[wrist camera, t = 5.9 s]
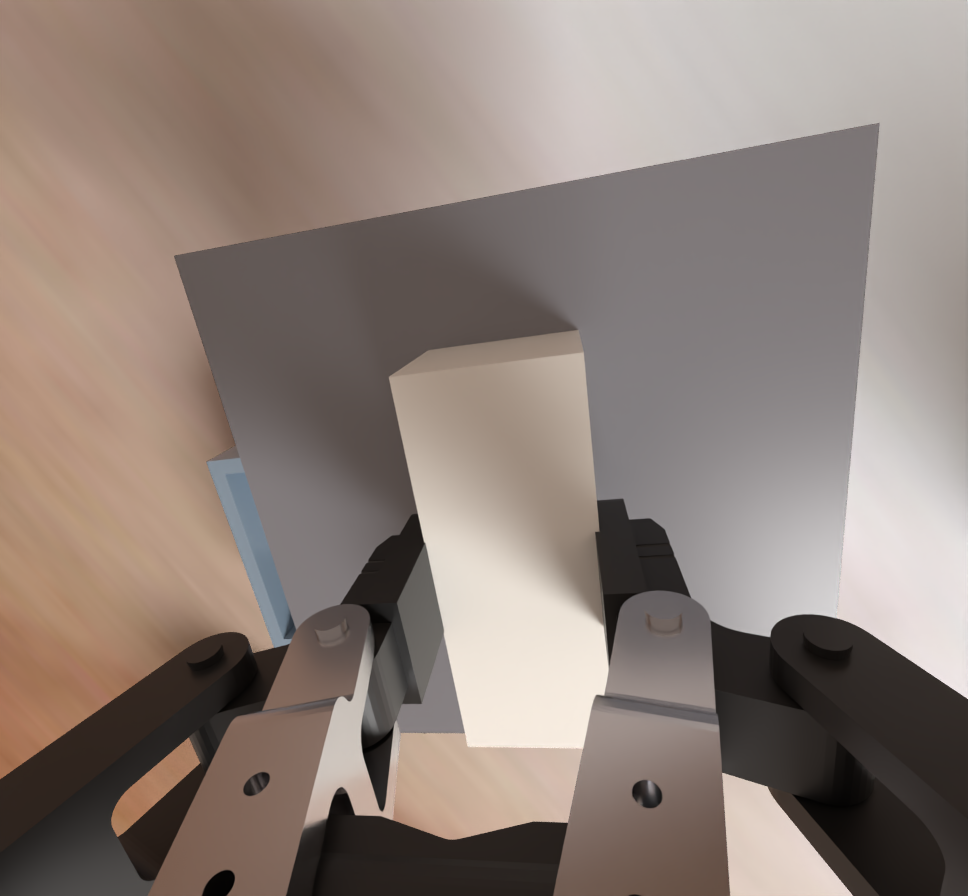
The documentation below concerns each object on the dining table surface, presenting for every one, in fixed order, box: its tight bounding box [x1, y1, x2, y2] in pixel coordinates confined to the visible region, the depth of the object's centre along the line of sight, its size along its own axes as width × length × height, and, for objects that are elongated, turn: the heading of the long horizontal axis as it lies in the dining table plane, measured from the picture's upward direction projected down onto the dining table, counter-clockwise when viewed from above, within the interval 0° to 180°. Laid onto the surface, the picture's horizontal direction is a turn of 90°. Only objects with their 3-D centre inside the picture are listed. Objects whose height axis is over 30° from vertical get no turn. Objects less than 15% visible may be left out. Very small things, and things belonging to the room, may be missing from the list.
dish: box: [207, 445, 296, 648], centre depth 30 cm, size 12×12×6 cm
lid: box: [174, 123, 879, 748], centre depth 12 cm, size 15×15×4 cm
